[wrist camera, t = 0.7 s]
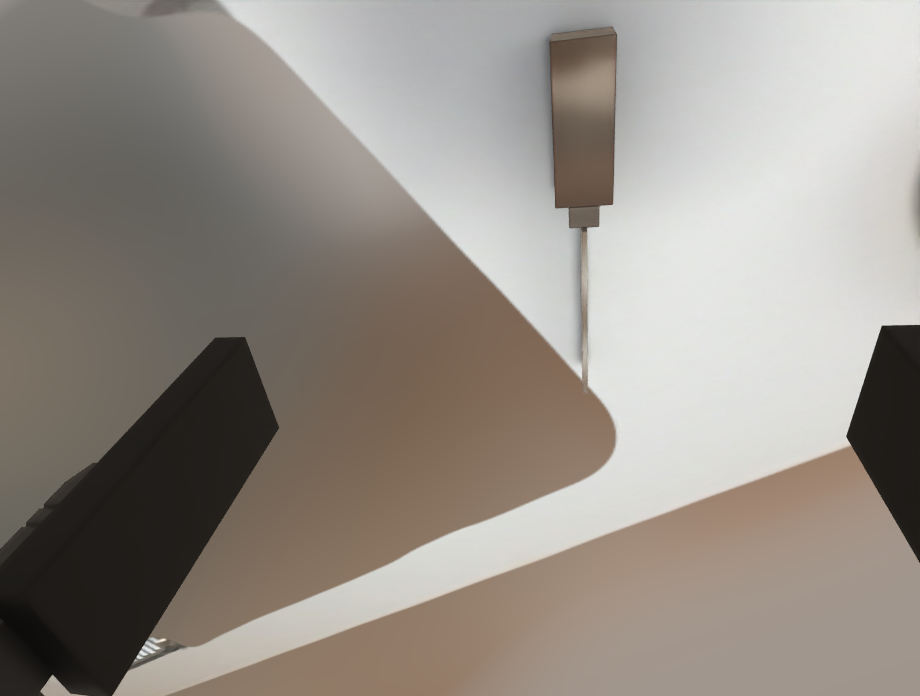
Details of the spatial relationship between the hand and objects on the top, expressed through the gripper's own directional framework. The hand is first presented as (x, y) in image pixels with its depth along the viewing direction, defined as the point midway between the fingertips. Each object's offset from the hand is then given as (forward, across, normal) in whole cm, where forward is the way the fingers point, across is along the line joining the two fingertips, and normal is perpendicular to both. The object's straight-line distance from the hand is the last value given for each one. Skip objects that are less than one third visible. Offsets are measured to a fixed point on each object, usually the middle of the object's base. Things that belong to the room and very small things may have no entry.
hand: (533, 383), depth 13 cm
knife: (+23, +2, -5) cm, 24 cm away
